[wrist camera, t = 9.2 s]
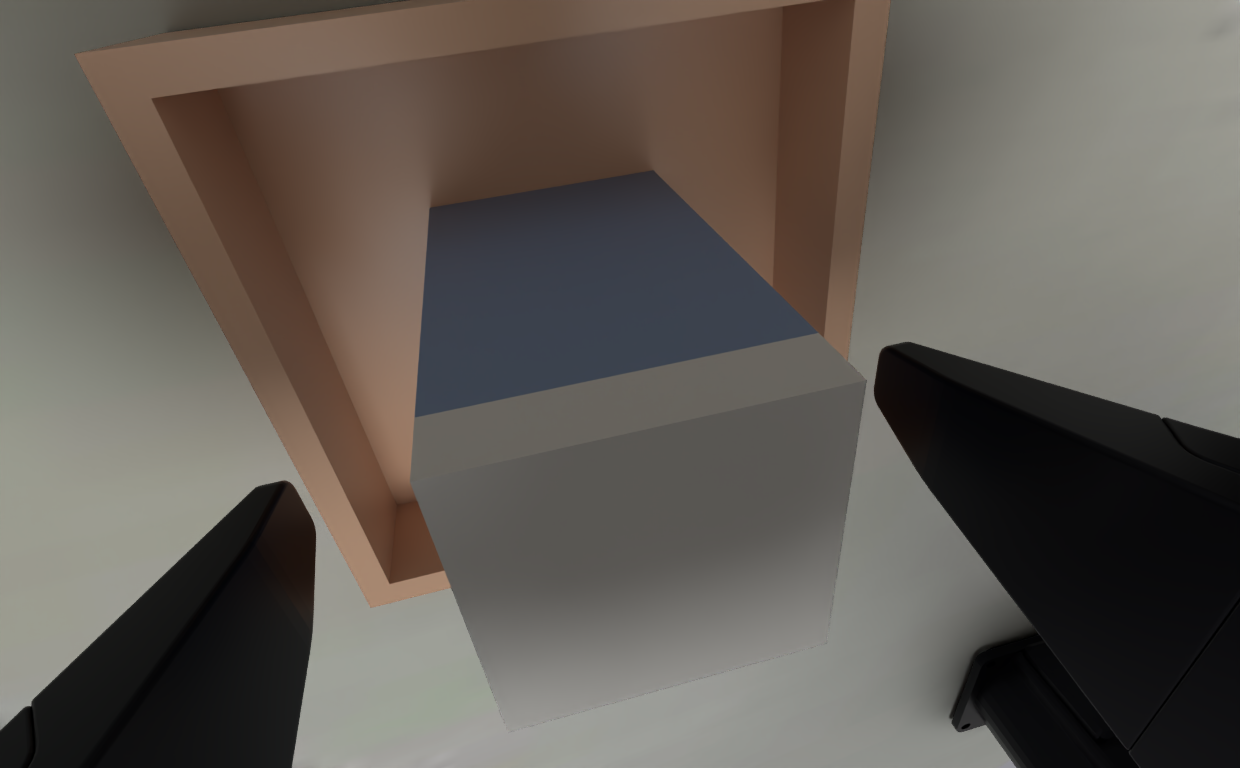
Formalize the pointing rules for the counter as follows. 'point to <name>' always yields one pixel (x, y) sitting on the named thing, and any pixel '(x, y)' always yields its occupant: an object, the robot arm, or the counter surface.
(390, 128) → the bin
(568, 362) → the block
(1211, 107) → the counter surface
